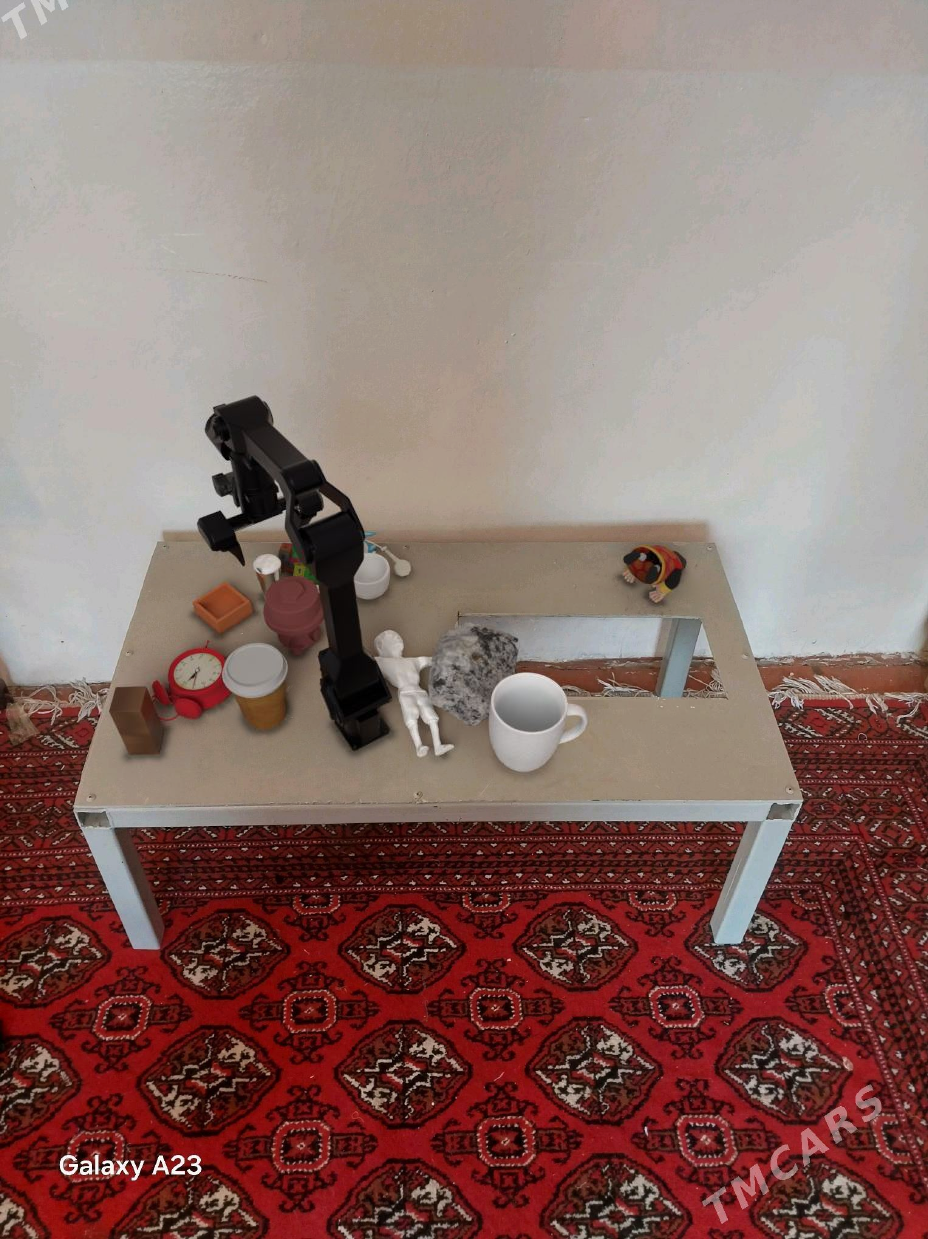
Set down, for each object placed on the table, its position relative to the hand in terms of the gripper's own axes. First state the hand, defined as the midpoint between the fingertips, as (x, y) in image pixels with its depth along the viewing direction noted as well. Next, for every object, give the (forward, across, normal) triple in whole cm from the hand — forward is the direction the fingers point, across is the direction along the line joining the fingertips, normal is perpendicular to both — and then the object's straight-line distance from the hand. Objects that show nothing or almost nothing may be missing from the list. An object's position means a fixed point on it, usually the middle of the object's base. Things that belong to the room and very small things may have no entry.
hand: (269, 553), depth 139 cm
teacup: (+15, -16, +2) cm, 22 cm away
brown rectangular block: (+15, +29, +13) cm, 35 cm away
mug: (+15, -19, +46) cm, 52 cm away
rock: (+5, -21, +34) cm, 41 cm away
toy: (+14, -20, -3) cm, 25 cm away
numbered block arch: (+15, -8, -8) cm, 18 cm away
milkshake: (+15, 0, -4) cm, 15 cm away
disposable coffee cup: (+15, +11, +18) cm, 26 cm away
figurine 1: (+10, -7, +40) cm, 42 cm away
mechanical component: (+15, 0, +7) cm, 16 cm away
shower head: (+14, -20, -16) cm, 29 cm away
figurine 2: (+7, -53, +30) cm, 61 cm away
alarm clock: (+15, +19, +8) cm, 25 cm away
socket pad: (+15, +8, -6) cm, 18 cm away
